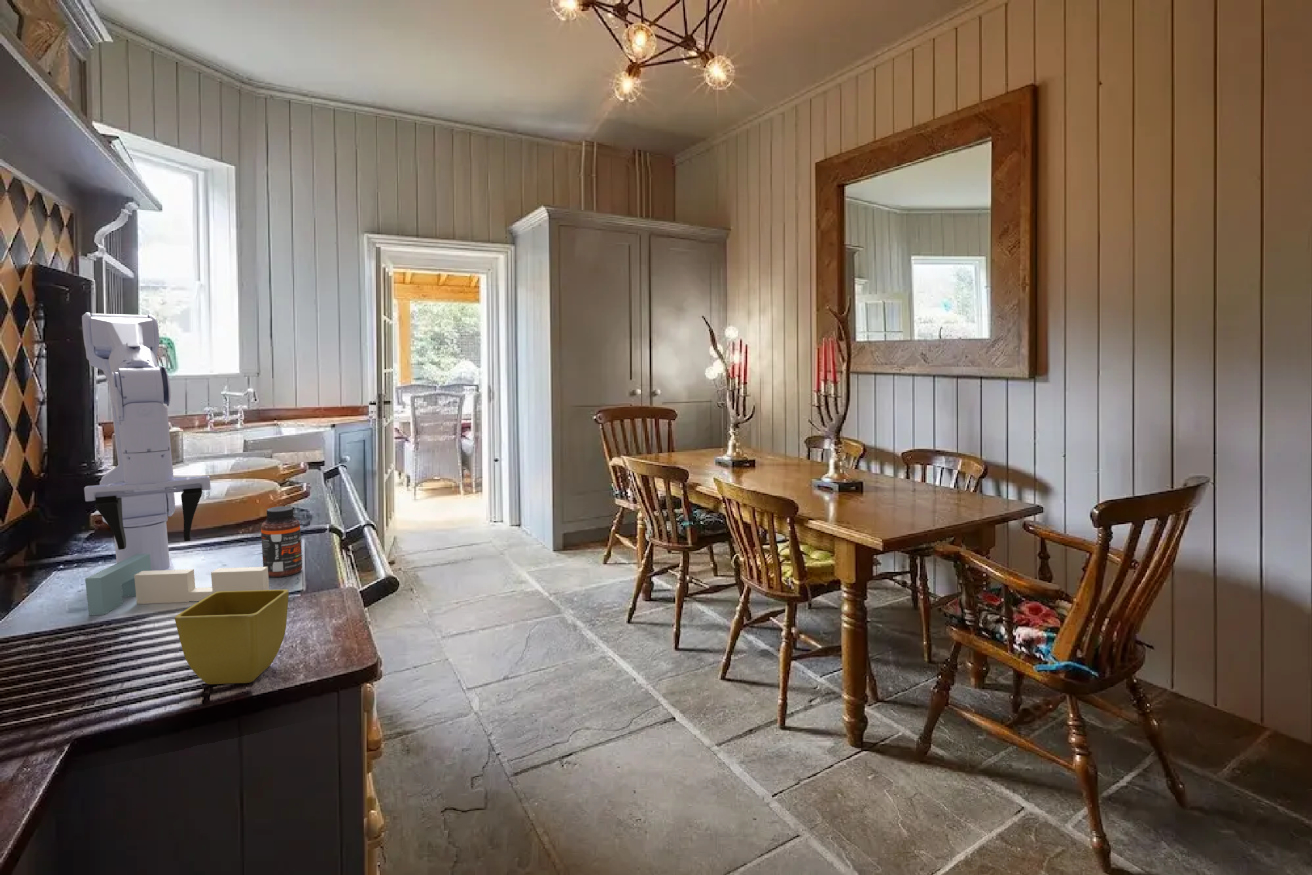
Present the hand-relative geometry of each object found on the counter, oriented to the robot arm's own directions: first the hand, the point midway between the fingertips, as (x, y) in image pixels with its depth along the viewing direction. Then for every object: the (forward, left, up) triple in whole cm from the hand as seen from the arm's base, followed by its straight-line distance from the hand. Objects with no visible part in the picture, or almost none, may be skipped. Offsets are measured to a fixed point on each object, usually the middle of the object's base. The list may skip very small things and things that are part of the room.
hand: (155, 544), depth 100 cm
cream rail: (-2, +5, -10) cm, 11 cm away
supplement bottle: (-9, +17, -10) cm, 22 cm away
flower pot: (+30, +6, -10) cm, 33 cm away
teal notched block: (-9, -5, -10) cm, 14 cm away
